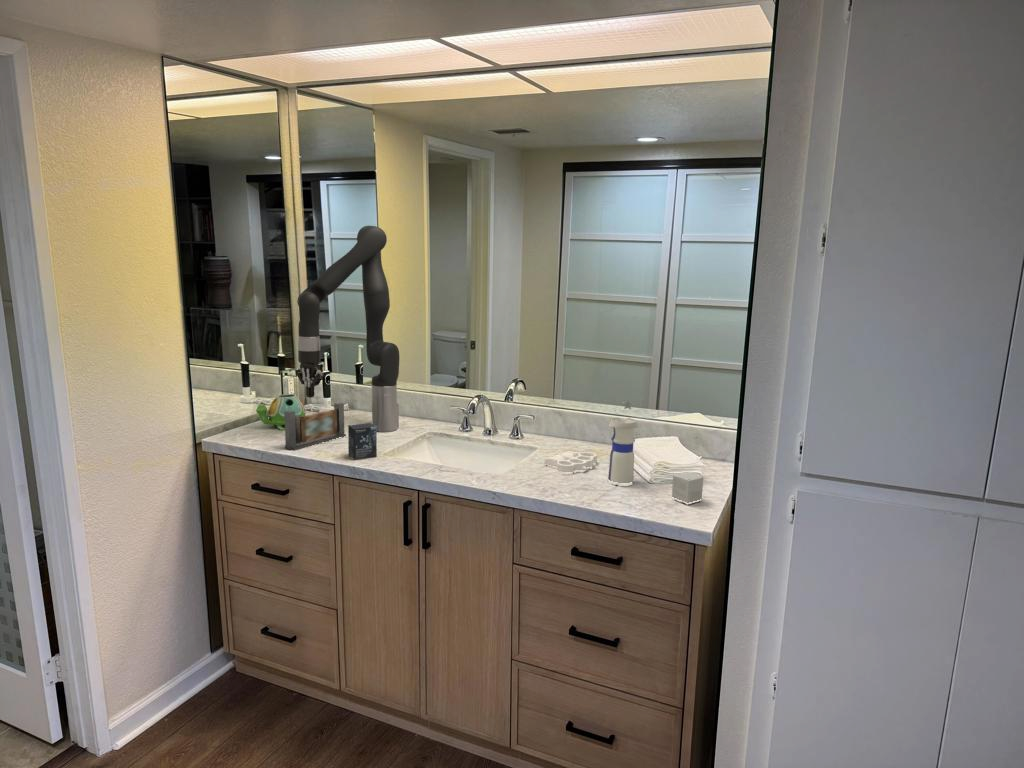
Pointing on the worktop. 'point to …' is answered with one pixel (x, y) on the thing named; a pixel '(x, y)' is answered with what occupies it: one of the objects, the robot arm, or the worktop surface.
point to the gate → (315, 426)
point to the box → (362, 441)
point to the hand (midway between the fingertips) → (310, 397)
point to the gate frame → (291, 439)
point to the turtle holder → (281, 410)
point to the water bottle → (622, 449)
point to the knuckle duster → (572, 461)
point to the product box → (687, 487)
